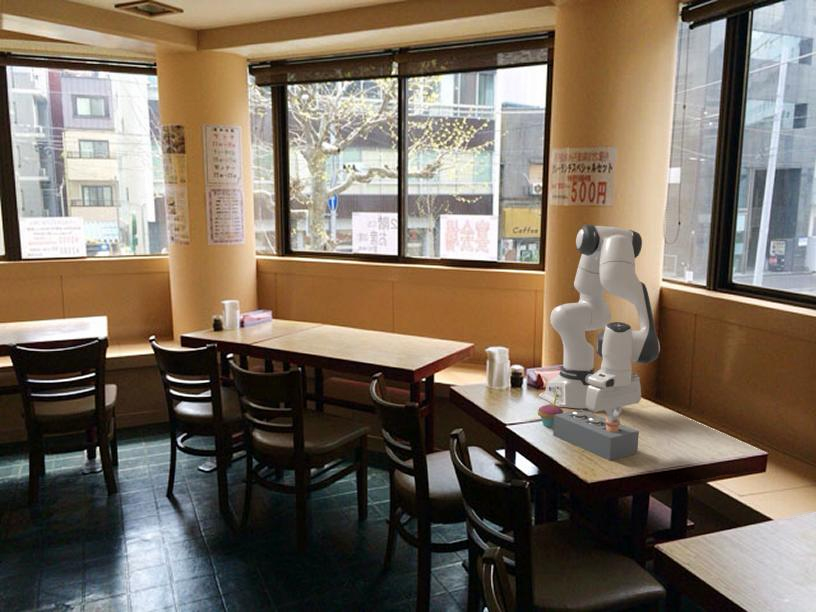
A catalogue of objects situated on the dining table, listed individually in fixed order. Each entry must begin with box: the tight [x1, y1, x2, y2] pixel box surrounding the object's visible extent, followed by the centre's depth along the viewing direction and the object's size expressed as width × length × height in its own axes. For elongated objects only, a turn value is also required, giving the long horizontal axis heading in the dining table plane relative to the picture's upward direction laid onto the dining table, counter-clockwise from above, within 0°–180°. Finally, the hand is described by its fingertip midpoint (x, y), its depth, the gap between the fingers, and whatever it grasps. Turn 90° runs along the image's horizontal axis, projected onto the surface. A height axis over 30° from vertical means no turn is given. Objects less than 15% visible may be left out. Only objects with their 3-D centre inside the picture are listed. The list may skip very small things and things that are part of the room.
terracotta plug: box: [605, 418, 621, 433], centre depth 196 cm, size 4×4×8 cm
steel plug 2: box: [588, 416, 602, 426], centre depth 202 cm, size 4×4×8 cm
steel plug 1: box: [572, 409, 586, 419], centre depth 208 cm, size 4×4×8 cm
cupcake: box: [537, 391, 564, 428], centre depth 219 cm, size 9×8×12 cm
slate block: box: [552, 409, 640, 461], centre depth 202 cm, size 24×12×7 cm, turn 30°
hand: (612, 420), depth 195 cm, fingers closed, pressing on terracotta plug
